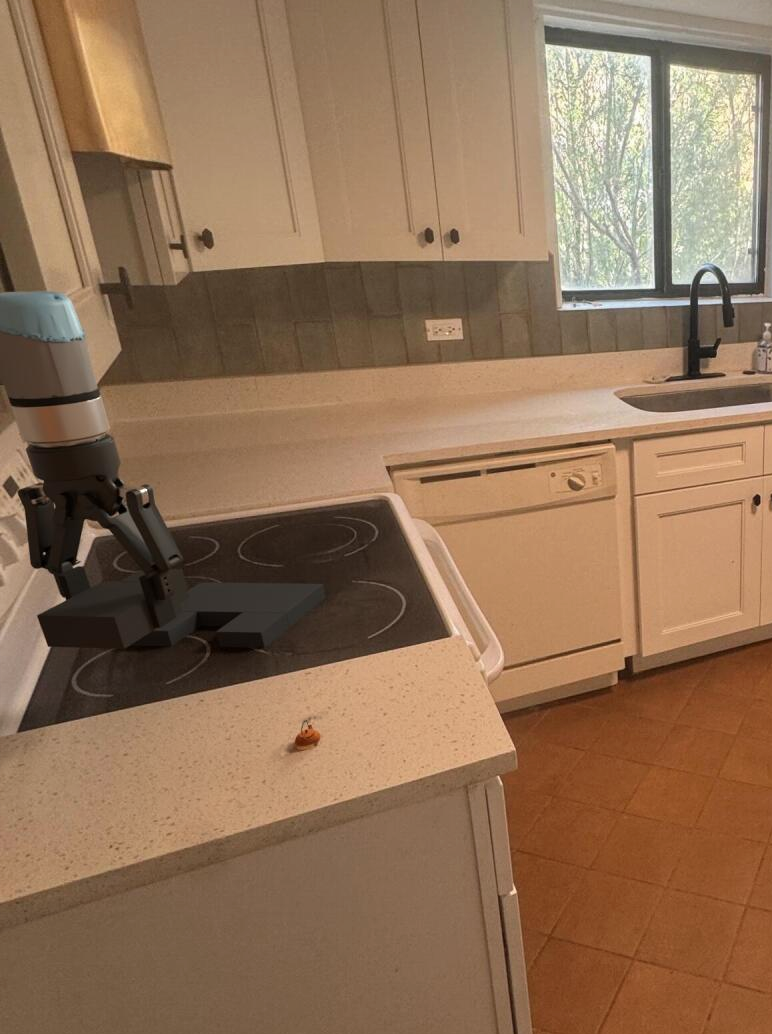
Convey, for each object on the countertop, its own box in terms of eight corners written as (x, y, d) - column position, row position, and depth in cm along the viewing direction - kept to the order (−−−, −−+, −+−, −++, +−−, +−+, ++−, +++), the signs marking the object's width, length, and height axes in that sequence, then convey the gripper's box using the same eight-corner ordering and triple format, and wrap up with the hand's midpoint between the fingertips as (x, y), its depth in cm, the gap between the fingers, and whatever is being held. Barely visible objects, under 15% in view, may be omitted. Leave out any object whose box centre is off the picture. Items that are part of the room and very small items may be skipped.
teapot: (289, 746, 92) (284, 727, 91) (311, 732, 95) (307, 713, 94) (306, 752, 91) (301, 733, 90) (328, 737, 94) (324, 719, 93)
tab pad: (47, 646, 88) (36, 615, 87) (137, 596, 100) (128, 567, 99) (124, 649, 88) (114, 617, 86) (205, 597, 100) (197, 569, 99)
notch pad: (130, 655, 112) (122, 630, 110) (206, 604, 127) (200, 582, 125) (267, 657, 111) (260, 632, 110) (327, 606, 126) (322, 583, 125)
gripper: (189, 431, 89) (235, 609, 96) (6, 428, 89) (66, 605, 97) (138, 449, 82) (191, 639, 89) (-61, 445, 82) (10, 634, 90)
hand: (126, 621), depth 93 cm, fingers closed on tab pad, 9 cm apart
